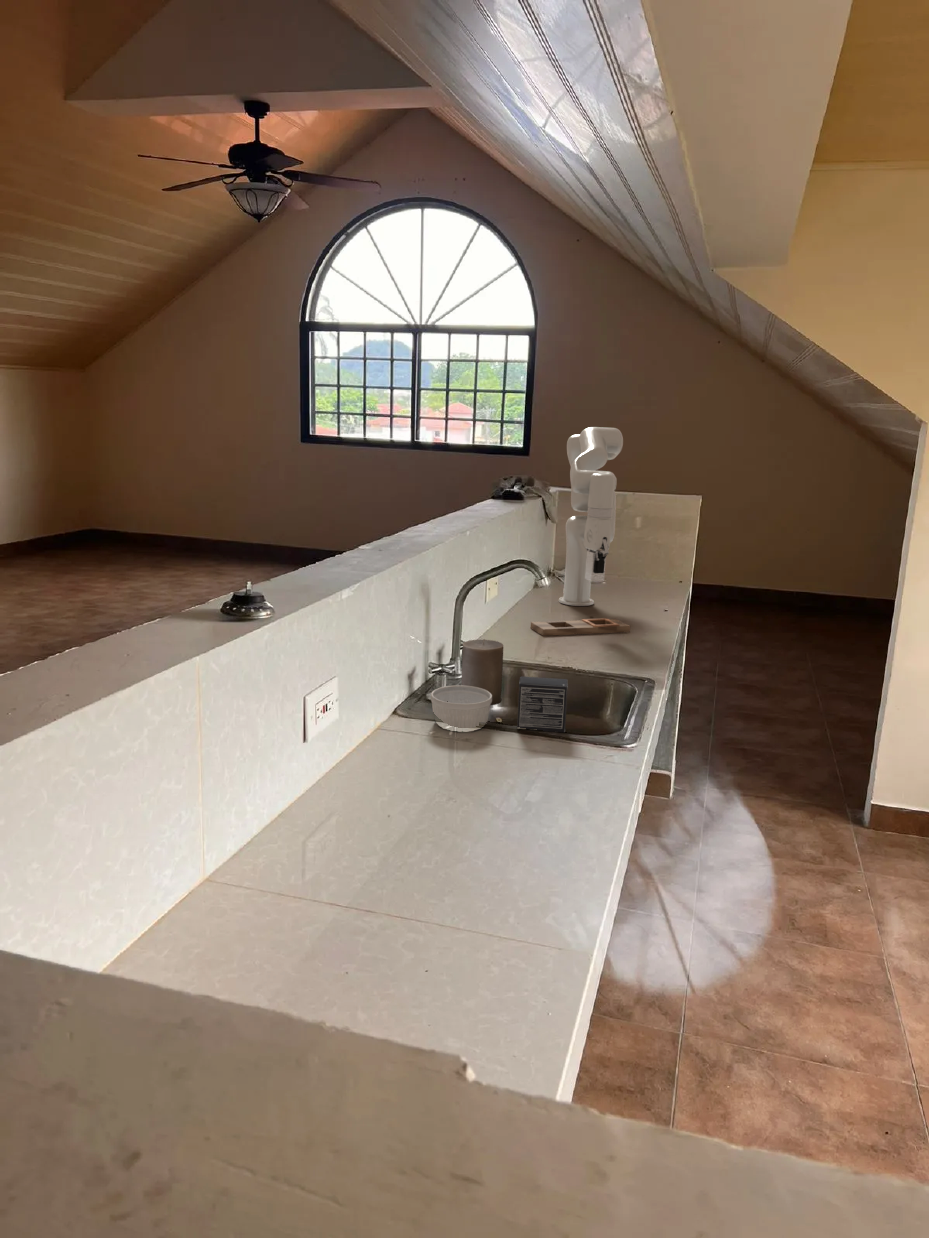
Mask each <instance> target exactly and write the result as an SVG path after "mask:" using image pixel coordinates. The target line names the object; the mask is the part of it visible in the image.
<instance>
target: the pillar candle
mask: <svg viewBox="0 0 929 1238" xmlns="http://www.w3.org/2000/svg"><path fill="white" fill-rule="evenodd" d="M461 657H462V658H461V659H462V663H461V685H464V686H473V687H478V688H482V689H485V690H487V691H488V692H490V693H491V694H492V703H491V704H490V706H496V705H499V704H500V703H502V701H503V700H502V689H503V669H504V644H503V643H502V642H500V641H498V640H493V639H492V640H491V639H485V638H483V639H471V640H470V639H469V640H466V641H463V643H462V655H461Z"/></svg>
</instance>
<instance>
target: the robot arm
mask: <svg viewBox="0 0 929 1238" xmlns="http://www.w3.org/2000/svg"><path fill="white" fill-rule="evenodd" d="M623 445H624V438H623V434H622V432H621V430H620V429H618V427H617V428H616V427H602V426H601V427H599V426H590V427H587V428H585V429H583V430H582V431H581V432H580V434H579V433H578V434H573V435H571V436H569V437H568V439H567V442H566V453H567V459H568V462H569V465H570V471H569V478H570V479H569V480H570V487H571V489H570V491H571V492H570V504H571V505H570V506H571V509H573V511H576V512H579V513H584V512H585V513H587V515H573V516H571V517H568V519H567V520H566V523H565V538H566V540H565V541H566V543H565V545H566V551H565V552H566V555H565V565H564V566H565V567H564V568H565V569H564V583H563V589H562V592H563V596H560V597H559V598H558V602H559V603H560V604H564V605H567V606H574V607H587V606H592V605H594V599H592V598H591V586H592V581H589V580H587V579H585V573H586V559H587V551H596V560H595V564H594V573H604V565H605V566H606V564H605V560H607V556H608V555H609V553H610V551H609V550H610V545H611V543H612V542H613V540H614V538H615V533H616V515H617V513H616V512H617V509H616V508H617V495H616V489H617V484H618V483H617V480H618V479H617V477H616V475H615V474H614V472H612V471H609V470H607V471H606V470H599V469H601V468H603V467H604V466H605V465H606V463H608V461H610V460H615V458H616V457H617V456H618V455H619V454H620V453H621V452H622V450H623ZM599 553H600V555H599Z"/></svg>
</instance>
